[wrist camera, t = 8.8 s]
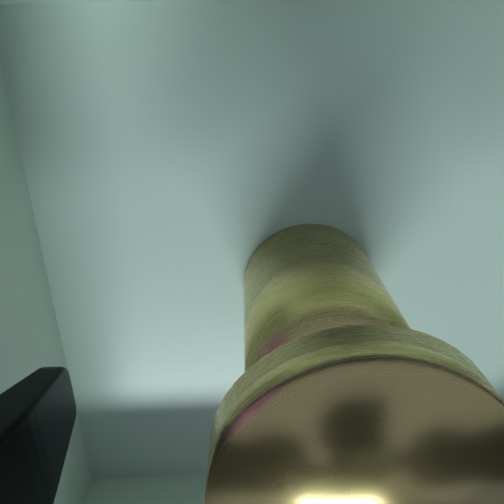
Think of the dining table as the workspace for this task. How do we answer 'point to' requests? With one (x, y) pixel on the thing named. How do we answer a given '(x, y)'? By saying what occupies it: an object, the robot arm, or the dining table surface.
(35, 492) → the robot arm
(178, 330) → the parts tray
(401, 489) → the pin
